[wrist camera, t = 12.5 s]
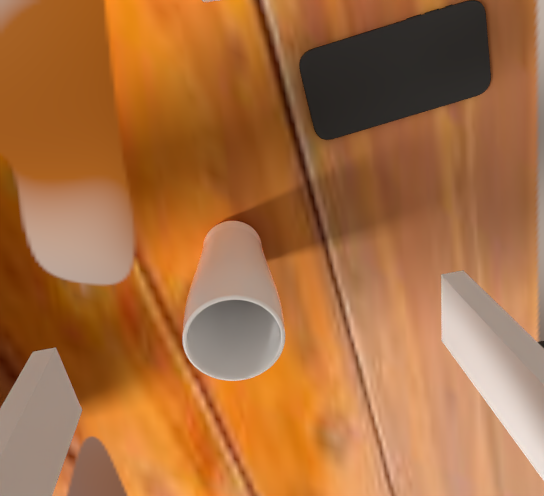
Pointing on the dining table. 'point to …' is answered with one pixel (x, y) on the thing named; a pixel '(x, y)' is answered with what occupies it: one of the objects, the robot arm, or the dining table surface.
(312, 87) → the phone
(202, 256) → the drinking glass
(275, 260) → the dining table surface
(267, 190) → the dining table surface
